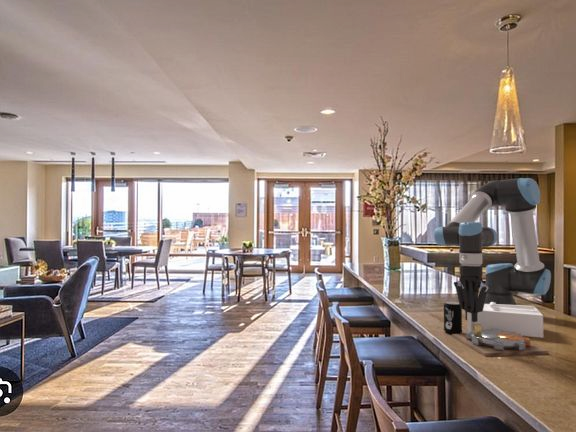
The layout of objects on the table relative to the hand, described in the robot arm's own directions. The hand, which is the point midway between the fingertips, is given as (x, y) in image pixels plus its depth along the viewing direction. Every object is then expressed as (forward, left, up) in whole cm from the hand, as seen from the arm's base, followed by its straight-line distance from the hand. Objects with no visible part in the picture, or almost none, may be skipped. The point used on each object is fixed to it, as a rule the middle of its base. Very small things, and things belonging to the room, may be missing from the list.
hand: (471, 330), depth 137 cm
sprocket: (-8, +2, -4) cm, 9 cm away
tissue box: (-23, -16, -5) cm, 29 cm away
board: (-8, +2, -5) cm, 10 cm away
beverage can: (0, -13, -5) cm, 14 cm away
